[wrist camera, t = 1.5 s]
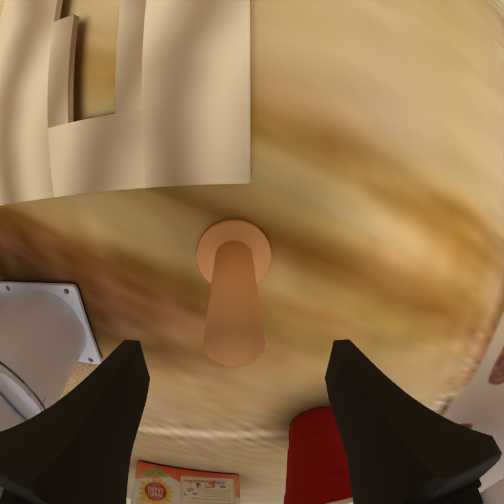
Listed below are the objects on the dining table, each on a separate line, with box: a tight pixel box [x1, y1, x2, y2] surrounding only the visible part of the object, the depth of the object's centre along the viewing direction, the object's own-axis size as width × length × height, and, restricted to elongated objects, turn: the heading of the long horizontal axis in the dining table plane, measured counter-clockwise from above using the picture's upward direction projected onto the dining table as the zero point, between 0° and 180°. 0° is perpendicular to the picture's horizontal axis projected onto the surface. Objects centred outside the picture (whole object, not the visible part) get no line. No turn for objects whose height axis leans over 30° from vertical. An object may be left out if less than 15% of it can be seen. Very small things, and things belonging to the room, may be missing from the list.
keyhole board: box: [0, 0, 250, 205], centre depth 12 cm, size 18×22×2 cm
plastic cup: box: [284, 407, 353, 504], centre depth 22 cm, size 11×11×12 cm
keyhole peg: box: [196, 219, 272, 367], centre depth 16 cm, size 5×5×9 cm
